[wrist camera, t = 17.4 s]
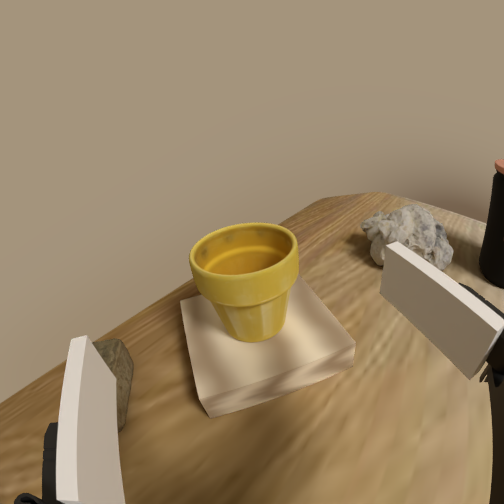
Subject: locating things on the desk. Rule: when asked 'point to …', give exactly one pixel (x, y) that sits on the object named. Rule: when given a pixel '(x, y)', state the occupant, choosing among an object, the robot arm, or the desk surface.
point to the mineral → (409, 235)
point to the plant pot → (247, 277)
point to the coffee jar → (495, 232)
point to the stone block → (118, 373)
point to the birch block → (264, 353)
